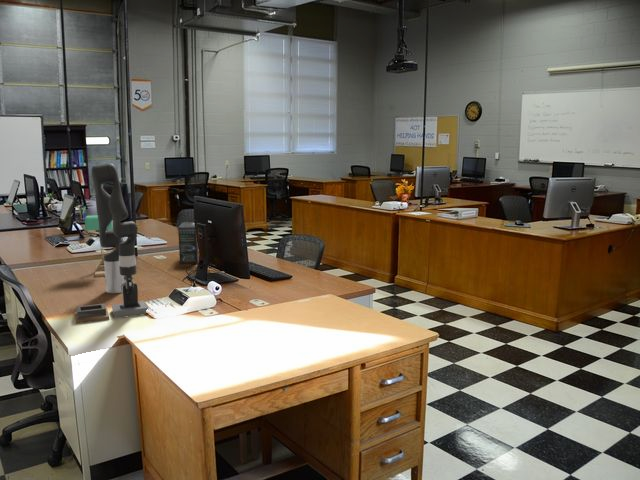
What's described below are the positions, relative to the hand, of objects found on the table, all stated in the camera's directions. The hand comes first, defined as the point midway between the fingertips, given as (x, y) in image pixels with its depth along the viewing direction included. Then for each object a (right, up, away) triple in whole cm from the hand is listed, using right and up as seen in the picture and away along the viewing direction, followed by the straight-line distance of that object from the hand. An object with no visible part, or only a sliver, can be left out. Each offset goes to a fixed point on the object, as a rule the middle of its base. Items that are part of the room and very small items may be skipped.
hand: (129, 299), depth 266 cm
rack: (-15, -8, -6) cm, 18 cm away
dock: (0, -6, +1) cm, 6 cm away
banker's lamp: (-42, +8, +76) cm, 87 cm away
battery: (0, -3, +1) cm, 4 cm away
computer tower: (+3, +14, +112) cm, 113 cm away
